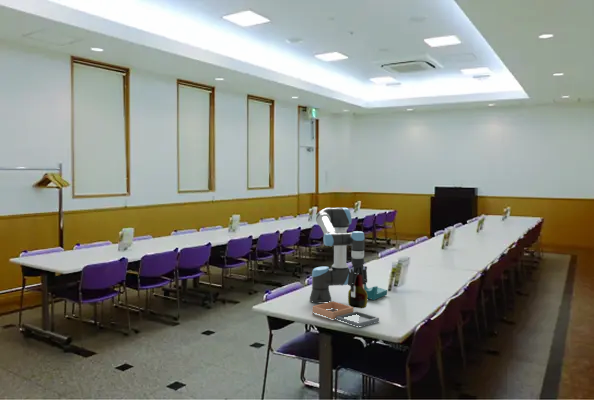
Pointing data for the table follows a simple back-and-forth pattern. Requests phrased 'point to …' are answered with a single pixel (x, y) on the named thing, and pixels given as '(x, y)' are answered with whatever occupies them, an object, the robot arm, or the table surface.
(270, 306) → the table surface
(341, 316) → the tray
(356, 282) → the bottle
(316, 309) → the holder
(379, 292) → the teal l-shaped bracket
